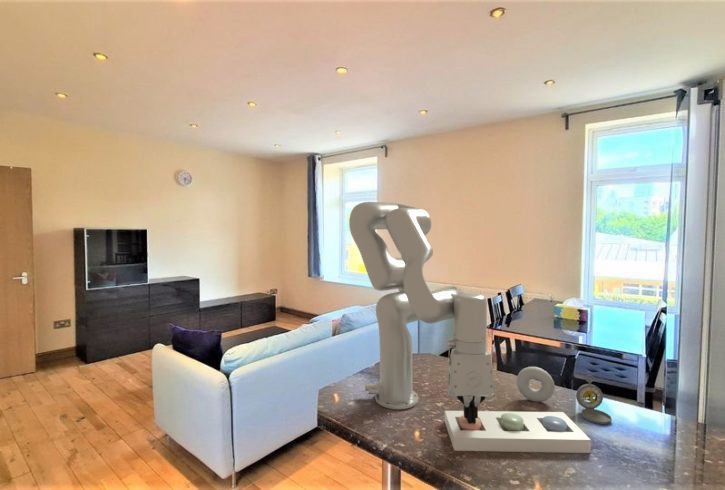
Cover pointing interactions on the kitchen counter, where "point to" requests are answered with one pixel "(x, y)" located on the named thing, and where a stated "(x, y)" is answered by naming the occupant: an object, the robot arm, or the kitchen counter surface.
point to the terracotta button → (469, 424)
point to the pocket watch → (592, 403)
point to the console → (516, 434)
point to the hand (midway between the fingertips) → (470, 420)
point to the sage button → (511, 422)
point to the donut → (535, 394)
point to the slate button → (554, 424)
